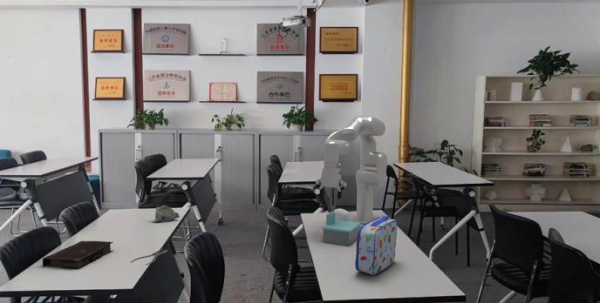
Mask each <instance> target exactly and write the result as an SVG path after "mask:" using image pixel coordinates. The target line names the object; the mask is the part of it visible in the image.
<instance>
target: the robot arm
mask: <svg viewBox="0 0 600 303" xmlns="http://www.w3.org/2000/svg"><path fill="white" fill-rule="evenodd" d="M385 133H386V124H385V123H384V122H383V121H382V120H380V119H378V118H377V117H376V116H369V115H368V116H366V115H363V116H362V115H358V116H355V117H354V118H353V119H351V121H350V122H349V123H348V125H346V126H345V128H342V129H339V130H337V131H335V132H333V133H331V134H330V135H329V136H328V137H327V138H326V139H325V141H324V143H323V146H322V147H323V148H322V149H323V167H322V169H321V174H320V175H321V178H319V179H316V180H315V184H316V186H317V188H318V190H319V196H320V198H323V197H325V189H324V188H332V189H333V188H336V189H337V200H340V199H342V196H343V191H344V190H345V189H346V187H347V185H348V184H347V182H346V181H344V180H343V179H342V171H341V168H340V167H341V166H342V164H341V163H340V162H339V161H340V160H339V159H340V156H339V155H342V156H345V155H347V154H348V153H350V150H351V144H350V142H352V141H353V142H354V141H356V140H357V139H358V138H359V137H360V139H361V150H360V152H361V153H360V160H359V161H360V165H361V166H362V167H364V168H361V169H358V170H357V171H356V173H355V182H356V217H354V219H353V222H360V223H361V224H362V225H364V224H366V223H368V222H370V221H373V220H375V219H376V218H373V217H374V216H373V215H374V214H373V210H374V191H373V189H372V187H380V188H381V187H382V186H384V185H385V182H386V177H387V168H388V156H387V154H386V153H385V152H382V151H377V141H376V139H375V138H374V137H381V136H384V134H385ZM368 168H369V169H368ZM370 168H375V169H370Z"/></svg>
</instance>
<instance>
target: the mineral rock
mask: <svg viewBox="0 0 600 303" xmlns="http://www.w3.org/2000/svg"><path fill="white" fill-rule="evenodd" d="M154 213H155V215H154V218H155V219H154V223H157V224H158V223H164V222H171V221H174V220H176V219H178V218H180V217H181V216H180V215H179V213H178V212H176V211H175V210H174V209H173V208H172V207H169V206H167V205H165V204H164V205H161V206H157V207H156V206H155V212H154Z"/></svg>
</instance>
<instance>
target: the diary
mask: <svg viewBox="0 0 600 303" xmlns="http://www.w3.org/2000/svg"><path fill="white" fill-rule="evenodd" d="M112 244H114V242H113V241H105V240H101V241H100V240H81V241H78V242H77V243H75V244H72V245H70V246H67V247H65V248H62V249H60V250H58V251H56V252H55V253H52V254H50V255H47V256H45V257H42V262H41V263H42V267H43V268H45V267H52V268H53V267H54V268H60V269H64V270H65V269H66V270H81V269H83V268H85V267H87V266H89V265H91V264H92V263H94V262H96V261H97V260H100V259H102V258H103V257H104V256H106V255H109V254H111V253H113V252H114V250H111V245H112Z"/></svg>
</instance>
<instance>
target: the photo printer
mask: <svg viewBox="0 0 600 303" xmlns="http://www.w3.org/2000/svg"><path fill="white" fill-rule="evenodd" d="M333 213H335V219H337V220H345V221H351V217H350V216H351V214H350V212H349V211H348V210H345V209H343V208H335V209H334V210H333Z"/></svg>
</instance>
